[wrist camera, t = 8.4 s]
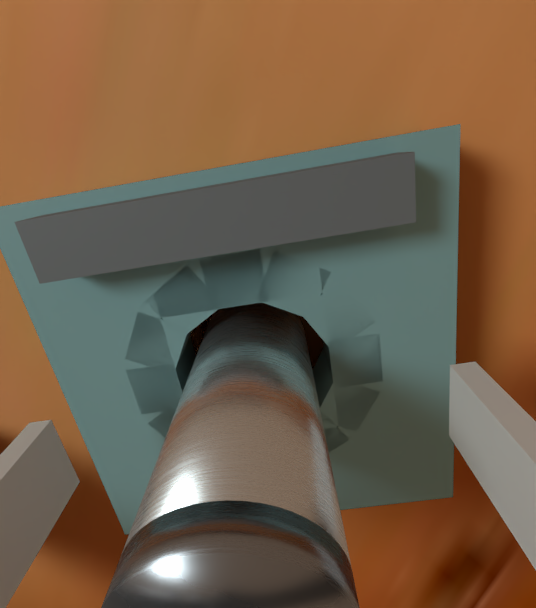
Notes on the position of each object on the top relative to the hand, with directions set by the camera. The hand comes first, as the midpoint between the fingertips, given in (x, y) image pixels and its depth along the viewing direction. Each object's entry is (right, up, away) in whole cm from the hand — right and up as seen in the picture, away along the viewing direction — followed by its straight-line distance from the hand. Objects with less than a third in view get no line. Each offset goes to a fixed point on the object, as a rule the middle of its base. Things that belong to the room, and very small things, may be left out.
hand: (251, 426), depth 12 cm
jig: (0, +2, +6) cm, 6 cm away
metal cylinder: (0, +2, +6) cm, 6 cm away
